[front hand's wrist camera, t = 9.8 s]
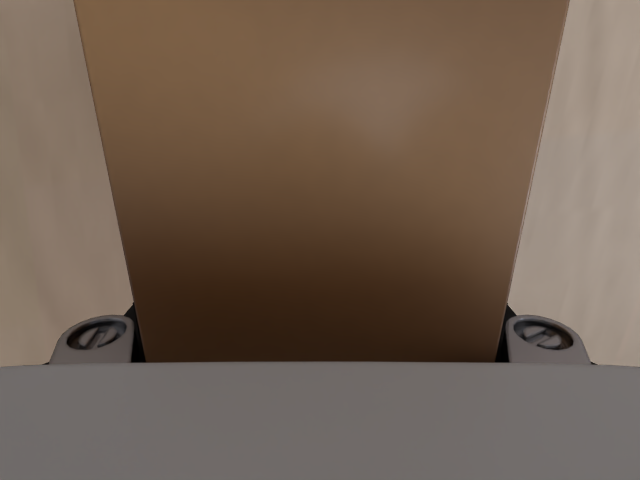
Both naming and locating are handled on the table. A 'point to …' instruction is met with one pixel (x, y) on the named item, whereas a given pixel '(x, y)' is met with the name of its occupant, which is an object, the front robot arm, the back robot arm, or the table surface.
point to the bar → (321, 170)
